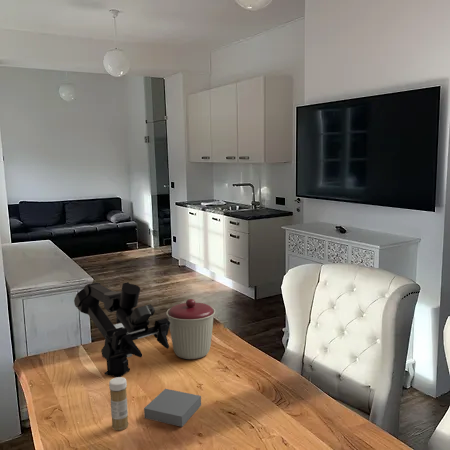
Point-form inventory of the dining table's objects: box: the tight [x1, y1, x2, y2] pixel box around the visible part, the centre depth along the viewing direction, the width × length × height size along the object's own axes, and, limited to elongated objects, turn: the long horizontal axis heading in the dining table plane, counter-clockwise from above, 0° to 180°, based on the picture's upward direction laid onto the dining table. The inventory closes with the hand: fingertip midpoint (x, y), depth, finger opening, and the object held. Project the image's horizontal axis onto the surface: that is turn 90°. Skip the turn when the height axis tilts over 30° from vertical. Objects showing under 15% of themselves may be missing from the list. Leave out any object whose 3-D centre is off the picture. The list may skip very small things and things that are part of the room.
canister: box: [165, 298, 216, 360], centre depth 174 cm, size 18×18×21 cm
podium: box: [143, 388, 202, 428], centre depth 135 cm, size 12×12×3 cm
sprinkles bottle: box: [108, 376, 129, 431], centre depth 127 cm, size 5×5×13 cm
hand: (155, 351), depth 139 cm, fingers open, 9 cm apart
